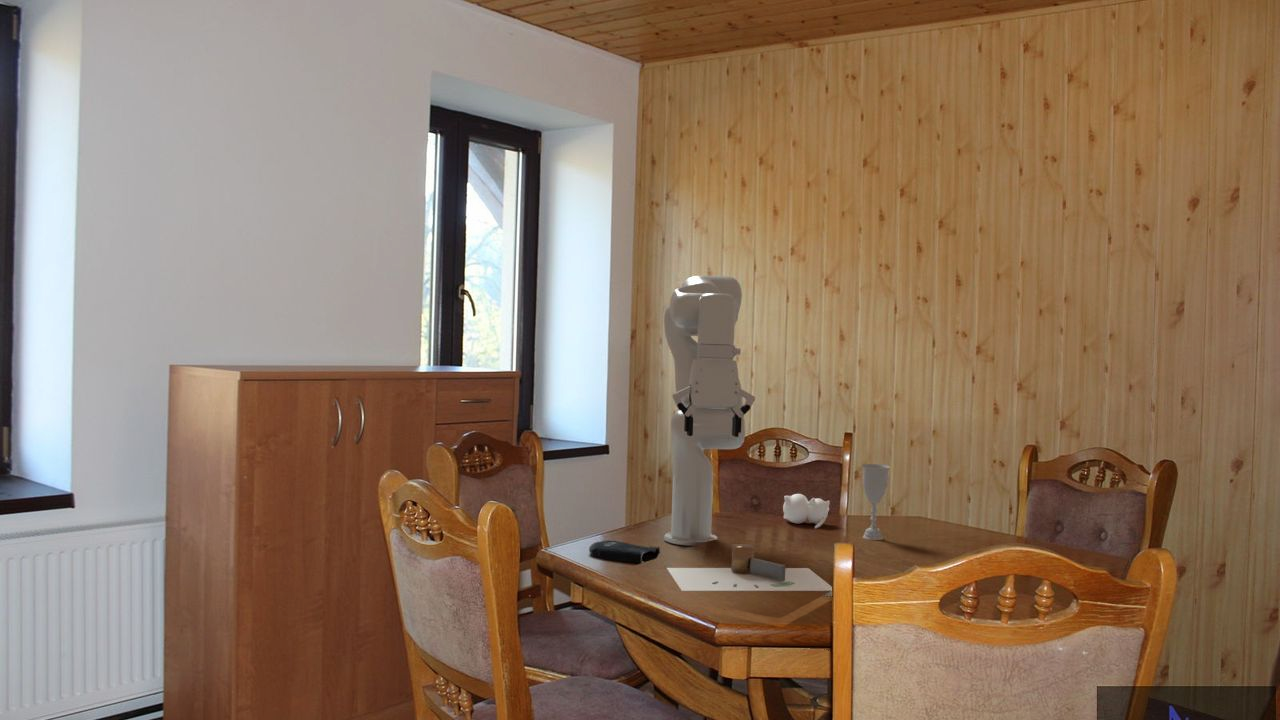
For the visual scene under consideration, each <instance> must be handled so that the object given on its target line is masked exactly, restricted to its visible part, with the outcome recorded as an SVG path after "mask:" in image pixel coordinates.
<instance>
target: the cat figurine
mask: <svg viewBox="0 0 1280 720" xmlns="http://www.w3.org/2000/svg"><path fill="white" fill-rule="evenodd" d="M783 498H784V503H783V505H782V511H783V519H785V520H788V521H789V522H791V523H793V524H797V525H798V524H803V523H805V522H806V520H808V521H809V523H811V524H815V526H814V529H815V530H816V529H818V528H820V527H822V525H823V524H824V523H825V521H826V519H827V518H828V513H829V511H830V500H827V501H825V500H823V499H821V498H820V497H818V498H815V497H812V498H811V499H810V500H808V498H807V497H806V496H805V495H804V494H802V493H794V494H792V495H784V497H783Z"/></svg>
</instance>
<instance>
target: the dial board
mask: <svg viewBox="0 0 1280 720" xmlns="http://www.w3.org/2000/svg"><path fill="white" fill-rule="evenodd" d="M666 569H667V571H668V573H669V574H670V575H671V577H672V578H673V580H674V581H675V583H676V585H677V586H678V587H679V589H680V590H681V592H771V591H772V592H813V591H814V592H826V593H824V594H823V595H820V596H819V597H820V598H827V596H828V598H833V597H832V587H833V586H832V585H830V584H829V583H828V582H827V581H825V579H823V578H822V577H820V576H819V575H818V574H817V573H815V572H814V571H813V570H811V569H810V568H809V567H802V568H801V567H795V568H794V567H785V581H778V580H774V579H770V578H766V577H762V576H758V575H754V574H750V573H736V572H733V571H732V570H731V567H666ZM827 591H828V592H827ZM825 596H826V597H825ZM830 596H831V597H830Z"/></svg>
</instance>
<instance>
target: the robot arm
mask: <svg viewBox="0 0 1280 720" xmlns="http://www.w3.org/2000/svg"><path fill="white" fill-rule="evenodd" d="M742 298H743V295H742V286H741V284H740V283H739V281H738V279H735V278H734V277H731V276H724V275H723V276H721V275H720V276H719V275H693V276H691V277H690V276H689V277H688V278H687V279H686V280H684V281H683V283H682V284H681V286H680V287H677V288H675V289H674V290H673V291H672V294H671V297H670V301H669V306H668V307H666V309H665V311H664V314H663V326H664V334H665V338H666V341H667V342H666V343H667V344H668V348H669V350H670V352H671V354H672V358H673V361H674V362H673V364H674V381H675V382H674V383H675V388H674V389H675V393H673V394H672V395H671V397H672V400H673V401H674V403H675V406H676V408H677V409H678V410H677V411H676V412H674V414H673V415H672V417H671V421H670V431H671V441H672V452H673V454H672V455H673V458H672V459H673V460H672V461H673V463H672V464H673V466H672V467H673V468H672V469H673V470H672V493H671V494H672V495H671V496H672V497H671V498H672V499H671V525H670V528H671V529H670V531H669V532H666V533H665V534H664V541H665V542H667V543H670V544H674V545H677V546H679V545H680V546H690V547H696V546H698V545H702V544H704V543H707V542H711V541H716V540H718V536H717V535H715V534H712V517H713V516H712V515H713V514H712V513H713V491H714V490H713V489H714V487H713V486H714V468H713V465H712V462H711V461H710V460H709V458H708V457H707V455H706V454H705V453H704V450H736V449H738V448H740V447H741V446H743V444H744V442H745V438H746V437H745V436H746V424H745V423H746V422H745V415H746V414H747V413H748V412H750V410H751V407H752V406H753V404H754V402H755V401H756V397H755V396H754V395H753V394H751V393H749V392H747V391H745V390H744V389H742V384H741V380H740V378H739V369H738V363H737V360H734V359H735V357H736V356H740V355H741V353H742V352H741V351H742V350H741V348H738V347H736V345H735V326H736V323H737V322H738V318H739V313H740V309H741V305H742ZM693 337H697V341H696V340H695V339H694V338H693ZM743 398H744V399H745V402H744V401H743Z"/></svg>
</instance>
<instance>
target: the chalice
mask: <svg viewBox="0 0 1280 720" xmlns="http://www.w3.org/2000/svg"><path fill="white" fill-rule="evenodd" d="M861 468H862V469H863V470H862V472H863V473H862V488H863V490H864V493H865V495H866V499H867V501H868V502H869V503H871V506H872V507H871V510H870V512H871V516H870V518H869V519H870V521H871V525H870V526H869V527H867V528H866V529H865V531H864V532H863V536H862V539H865V540H871V541H882V540H884V538H883V536H882V535H883V534H882V533H881V530H880V528H877V526H876V522H877V520H878V518H877V512H878V511H877V504H879V503H881V502H882V501H881V500H882V499H883V498H884V495H885V494H886V491H887V488H888V478H889V470H890V469H891V466H890V465H884V464H875V463H874V464H873V463H863V464H861Z"/></svg>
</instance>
